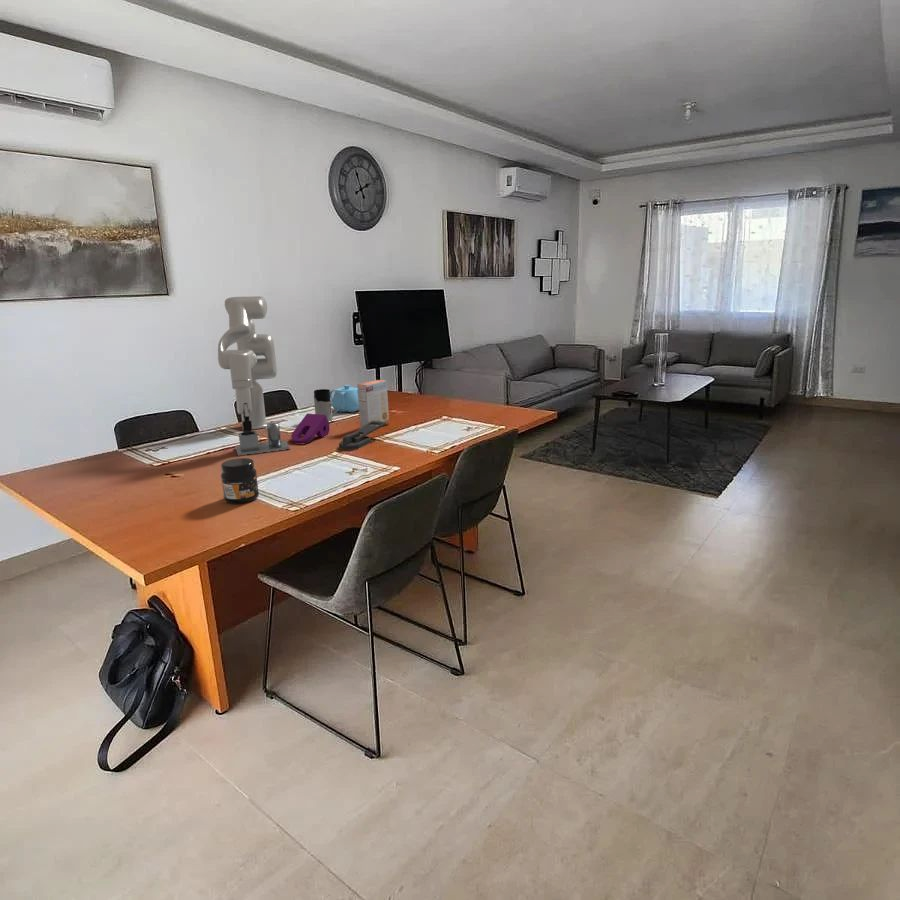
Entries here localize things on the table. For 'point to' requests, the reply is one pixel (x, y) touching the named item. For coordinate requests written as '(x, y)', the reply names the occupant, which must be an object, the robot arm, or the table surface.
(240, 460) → the supplement container
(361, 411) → the cracker box
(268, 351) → the robot arm
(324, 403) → the black and grey mug
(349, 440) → the zipper pull
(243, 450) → the grey fixture stand
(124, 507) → the table surface
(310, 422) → the mounting bracket
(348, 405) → the decorative pot
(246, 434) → the locking pin
